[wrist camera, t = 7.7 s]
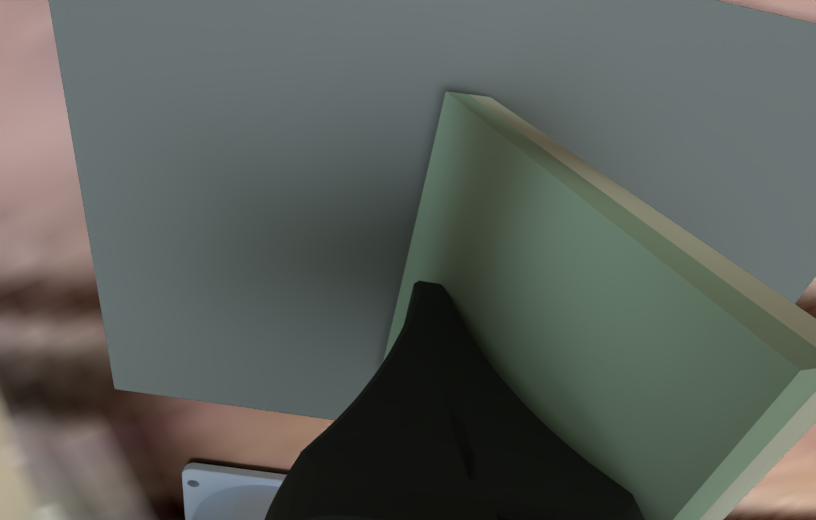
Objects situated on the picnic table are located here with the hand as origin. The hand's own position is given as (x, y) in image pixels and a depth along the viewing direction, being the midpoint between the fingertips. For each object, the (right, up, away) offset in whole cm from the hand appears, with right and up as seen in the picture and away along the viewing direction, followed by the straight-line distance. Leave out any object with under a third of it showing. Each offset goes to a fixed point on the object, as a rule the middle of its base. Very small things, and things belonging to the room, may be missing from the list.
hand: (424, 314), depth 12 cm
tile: (+1, -1, -2) cm, 2 cm away
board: (+1, +2, +3) cm, 4 cm away
